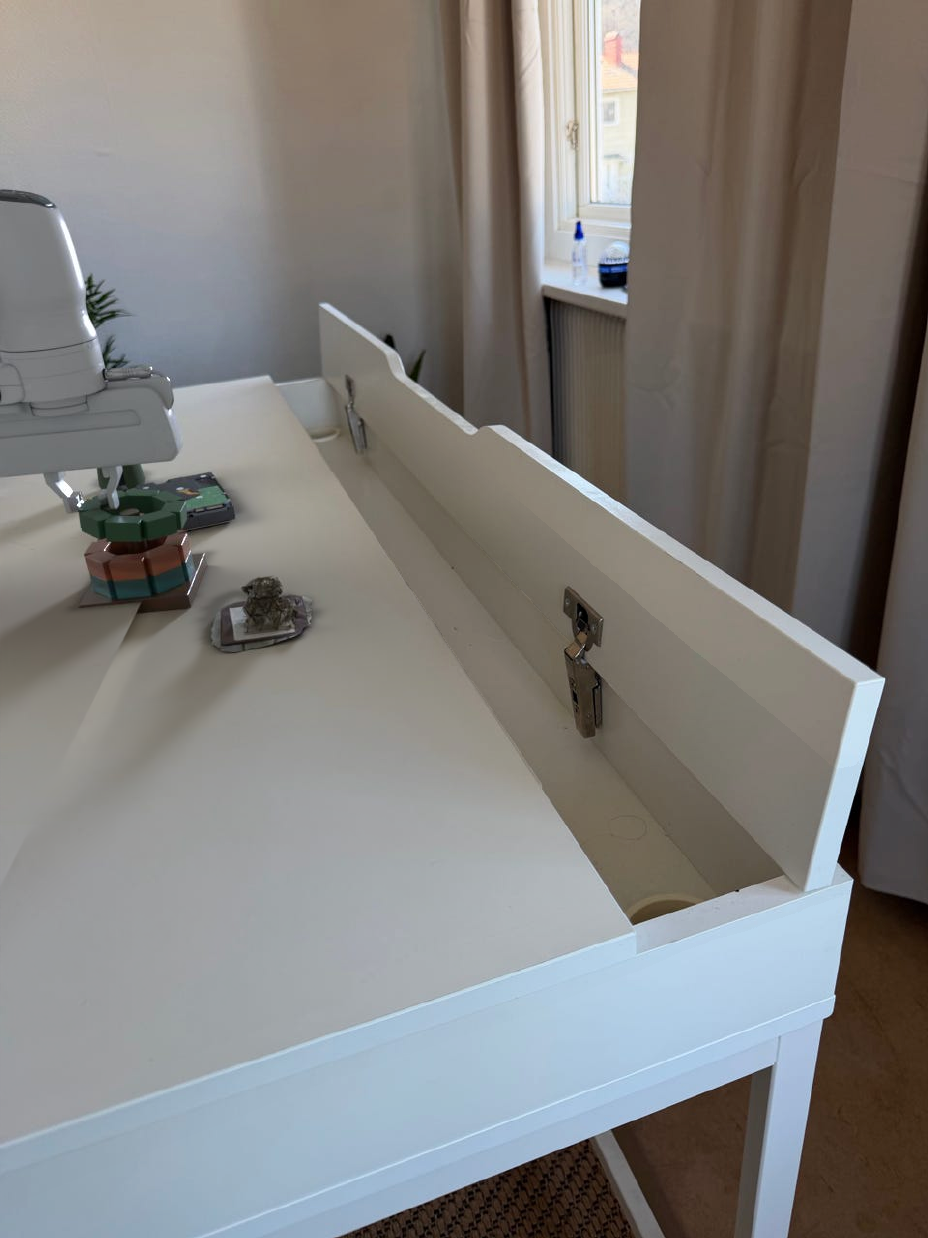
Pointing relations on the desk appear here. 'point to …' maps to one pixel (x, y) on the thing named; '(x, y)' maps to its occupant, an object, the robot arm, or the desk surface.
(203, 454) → the desk surface
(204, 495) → the disk drive
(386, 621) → the desk surface
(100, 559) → the ring stack
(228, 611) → the figurine on base
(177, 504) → the green ring
